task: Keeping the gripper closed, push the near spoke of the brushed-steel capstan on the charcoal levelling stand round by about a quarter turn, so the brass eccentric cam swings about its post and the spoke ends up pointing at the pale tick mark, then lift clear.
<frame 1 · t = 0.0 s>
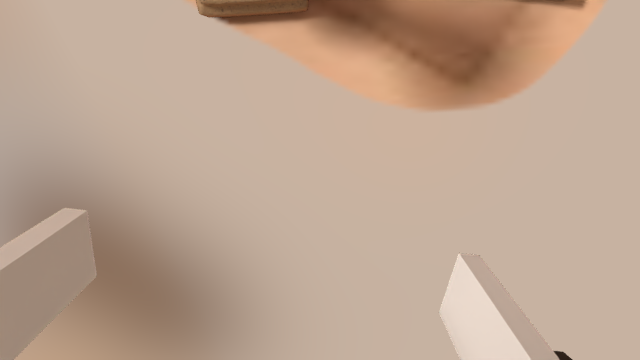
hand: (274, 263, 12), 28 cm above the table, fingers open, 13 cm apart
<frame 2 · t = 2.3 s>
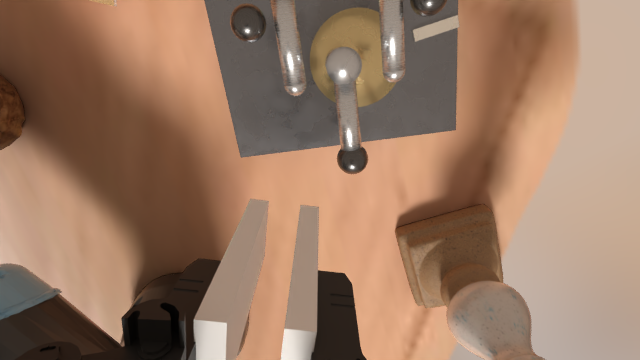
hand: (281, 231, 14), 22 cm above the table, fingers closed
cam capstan: (342, 85, 27), point 7 cm above the table, hinge at 0.0°
candle holder: (446, 251, 41), on the table
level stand: (336, 60, 33), on the table
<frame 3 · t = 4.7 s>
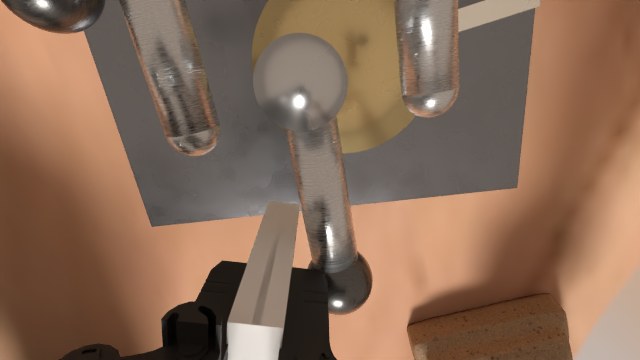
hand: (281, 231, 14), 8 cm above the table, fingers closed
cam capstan: (315, 119, 13), point 7 cm above the table, hinge at 2.7°, touching gripper
candle holder: (484, 356, 27), on the table
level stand: (312, 66, 19), on the table
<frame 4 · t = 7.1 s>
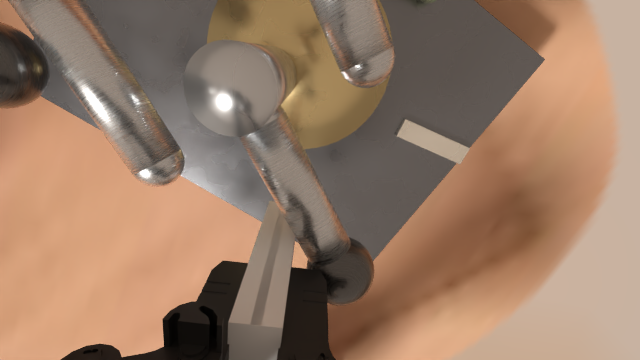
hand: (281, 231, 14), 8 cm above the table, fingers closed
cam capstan: (282, 119, 13), point 7 cm above the table, hinge at 58.9°, touching gripper
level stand: (281, 70, 19), on the table
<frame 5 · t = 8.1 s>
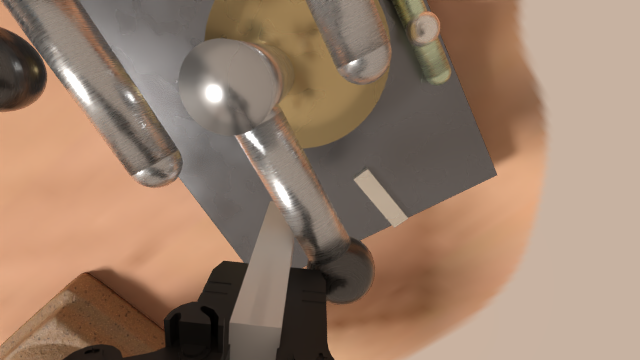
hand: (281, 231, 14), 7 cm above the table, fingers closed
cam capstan: (280, 118, 13), point 7 cm above the table, hinge at 86.8°, touching gripper
candle holder: (103, 347, 27), on the table
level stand: (280, 69, 19), on the table
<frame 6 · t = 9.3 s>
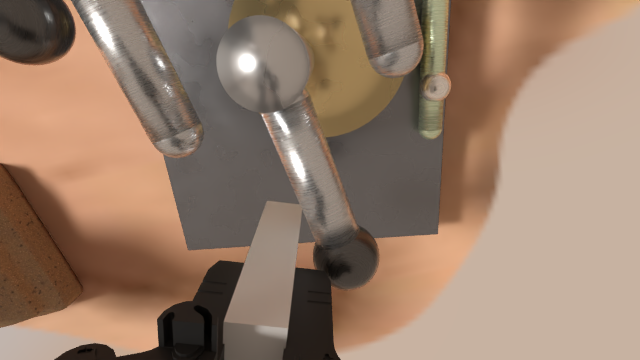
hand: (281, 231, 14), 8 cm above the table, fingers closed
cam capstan: (299, 104, 13), point 7 cm above the table, hinge at 105.7°
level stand: (295, 58, 19), on the table
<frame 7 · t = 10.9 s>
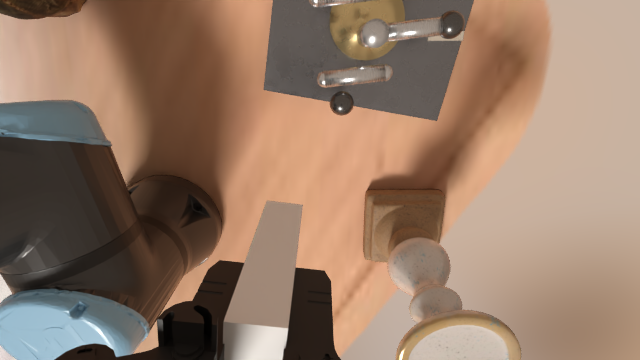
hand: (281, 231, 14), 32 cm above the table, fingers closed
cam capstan: (387, 33, 34), point 7 cm above the table, hinge at 105.8°
candle holder: (400, 222, 50), on the table
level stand: (363, 37, 40), on the table
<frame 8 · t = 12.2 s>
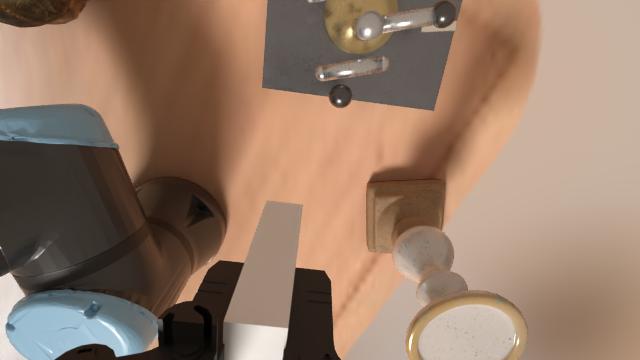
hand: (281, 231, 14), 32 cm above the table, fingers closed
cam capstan: (381, 25, 34), point 7 cm above the table, hinge at 105.8°
candle holder: (402, 213, 50), on the table
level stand: (358, 31, 41), on the table
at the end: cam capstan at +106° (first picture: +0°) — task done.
